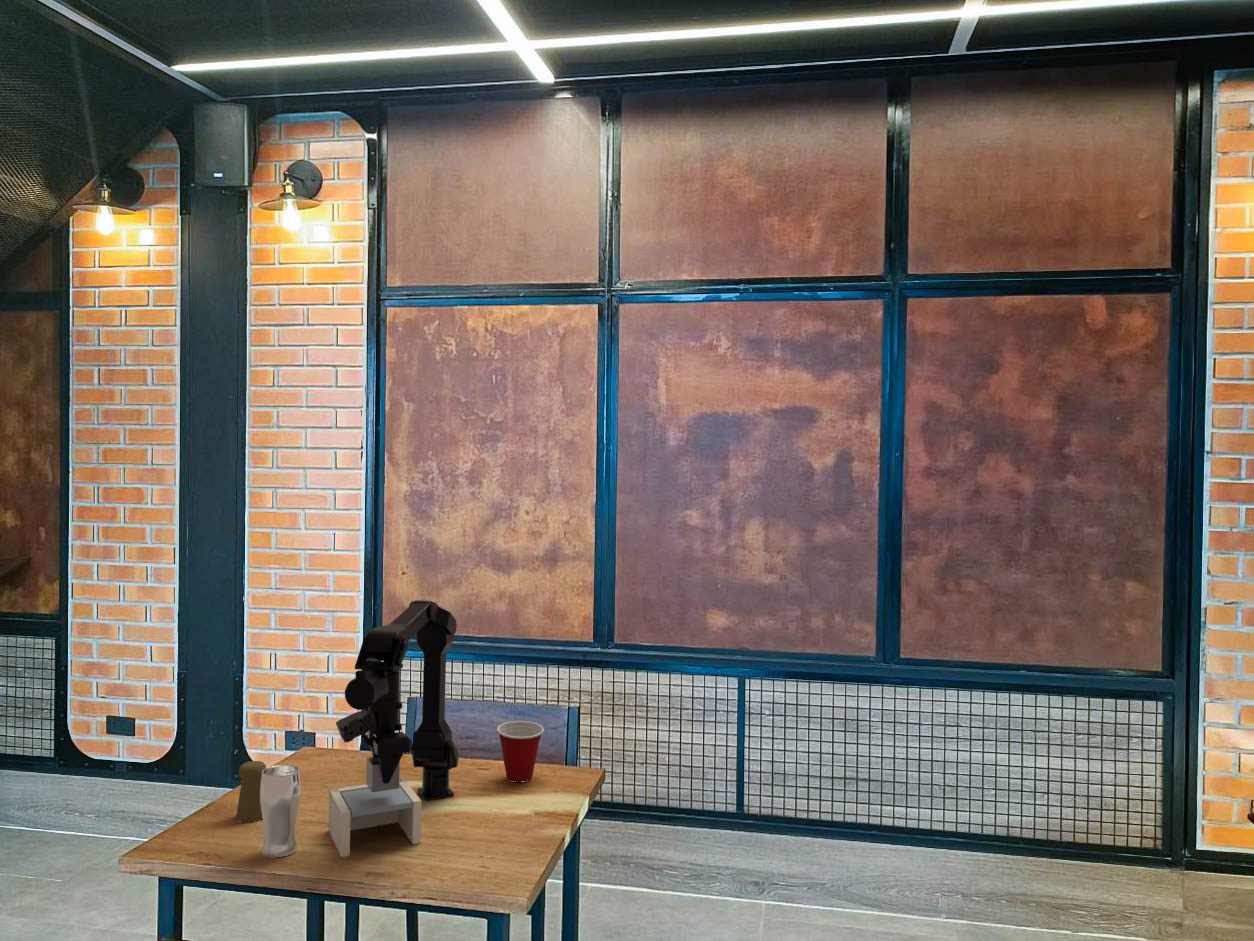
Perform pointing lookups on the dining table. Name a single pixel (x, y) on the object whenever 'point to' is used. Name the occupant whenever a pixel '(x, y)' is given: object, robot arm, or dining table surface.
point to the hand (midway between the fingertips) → (382, 778)
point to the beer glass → (279, 809)
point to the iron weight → (380, 776)
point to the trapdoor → (375, 801)
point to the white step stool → (371, 817)
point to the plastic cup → (519, 748)
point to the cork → (250, 792)
